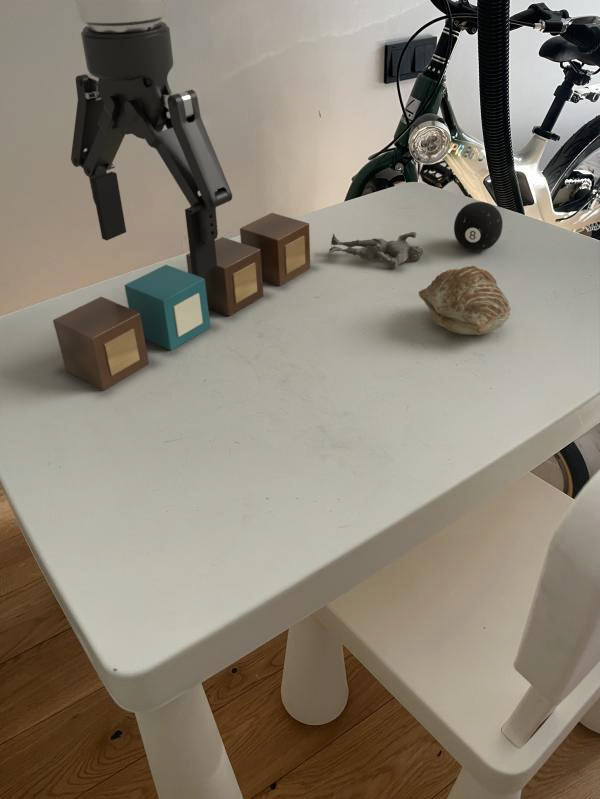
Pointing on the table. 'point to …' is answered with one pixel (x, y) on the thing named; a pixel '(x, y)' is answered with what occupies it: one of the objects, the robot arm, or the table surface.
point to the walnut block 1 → (101, 342)
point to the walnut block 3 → (279, 246)
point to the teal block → (169, 305)
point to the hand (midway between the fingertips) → (157, 252)
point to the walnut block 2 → (232, 277)
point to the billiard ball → (478, 226)
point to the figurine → (381, 249)
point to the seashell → (466, 301)
